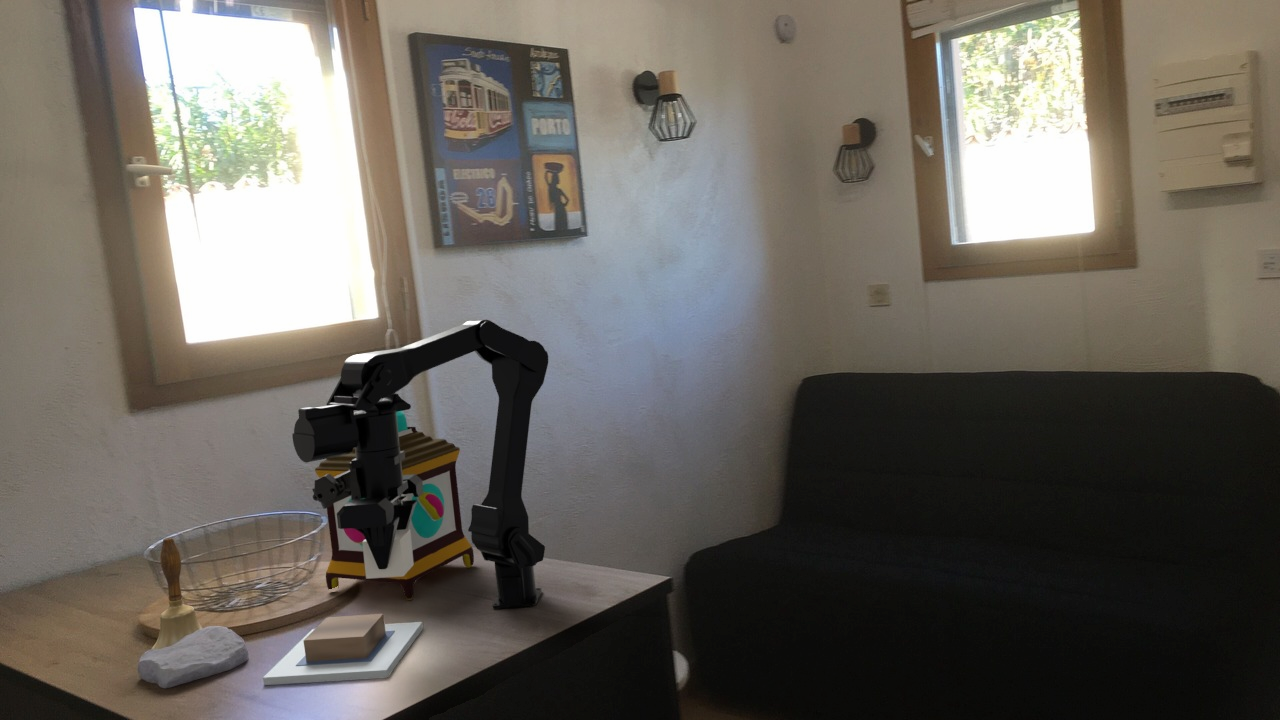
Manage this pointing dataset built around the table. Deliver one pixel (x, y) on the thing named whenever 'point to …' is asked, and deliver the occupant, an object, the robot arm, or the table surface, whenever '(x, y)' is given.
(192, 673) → the stone block
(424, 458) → the decorative lantern
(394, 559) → the plastic cube
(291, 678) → the board
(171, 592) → the hand bell
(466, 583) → the table surface
